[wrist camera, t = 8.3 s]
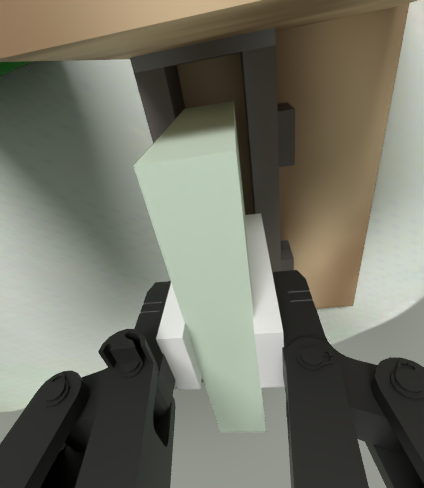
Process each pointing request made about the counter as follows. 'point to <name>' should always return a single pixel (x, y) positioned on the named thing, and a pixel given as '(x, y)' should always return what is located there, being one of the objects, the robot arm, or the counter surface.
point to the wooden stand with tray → (256, 101)
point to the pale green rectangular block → (208, 254)
